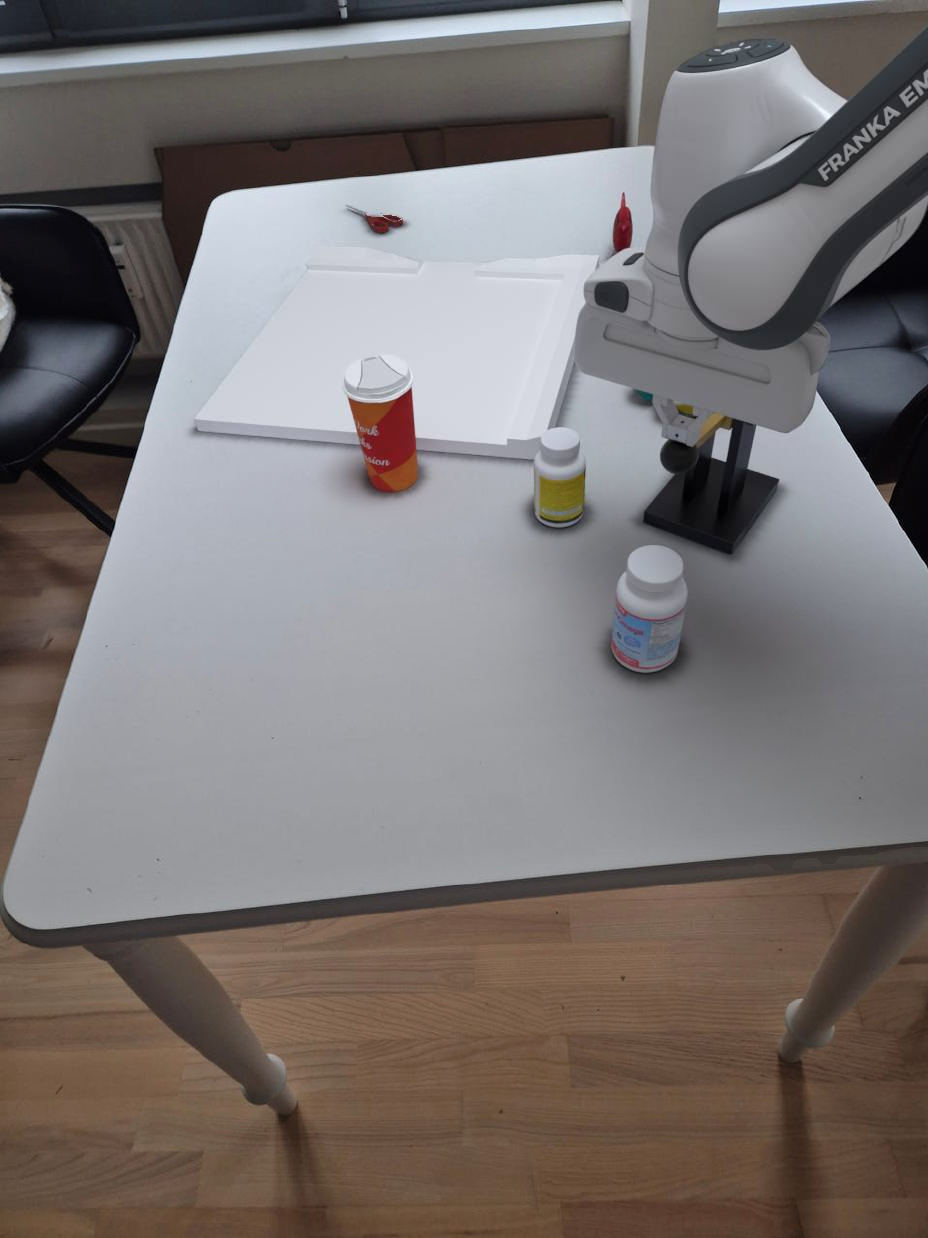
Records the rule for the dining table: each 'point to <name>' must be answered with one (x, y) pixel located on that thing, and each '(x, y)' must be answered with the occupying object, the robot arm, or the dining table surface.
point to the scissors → (380, 221)
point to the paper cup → (384, 419)
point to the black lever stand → (715, 495)
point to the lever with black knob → (685, 457)
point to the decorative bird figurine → (622, 227)
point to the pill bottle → (649, 609)
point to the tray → (414, 350)
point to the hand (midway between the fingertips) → (680, 438)
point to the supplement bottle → (559, 478)
